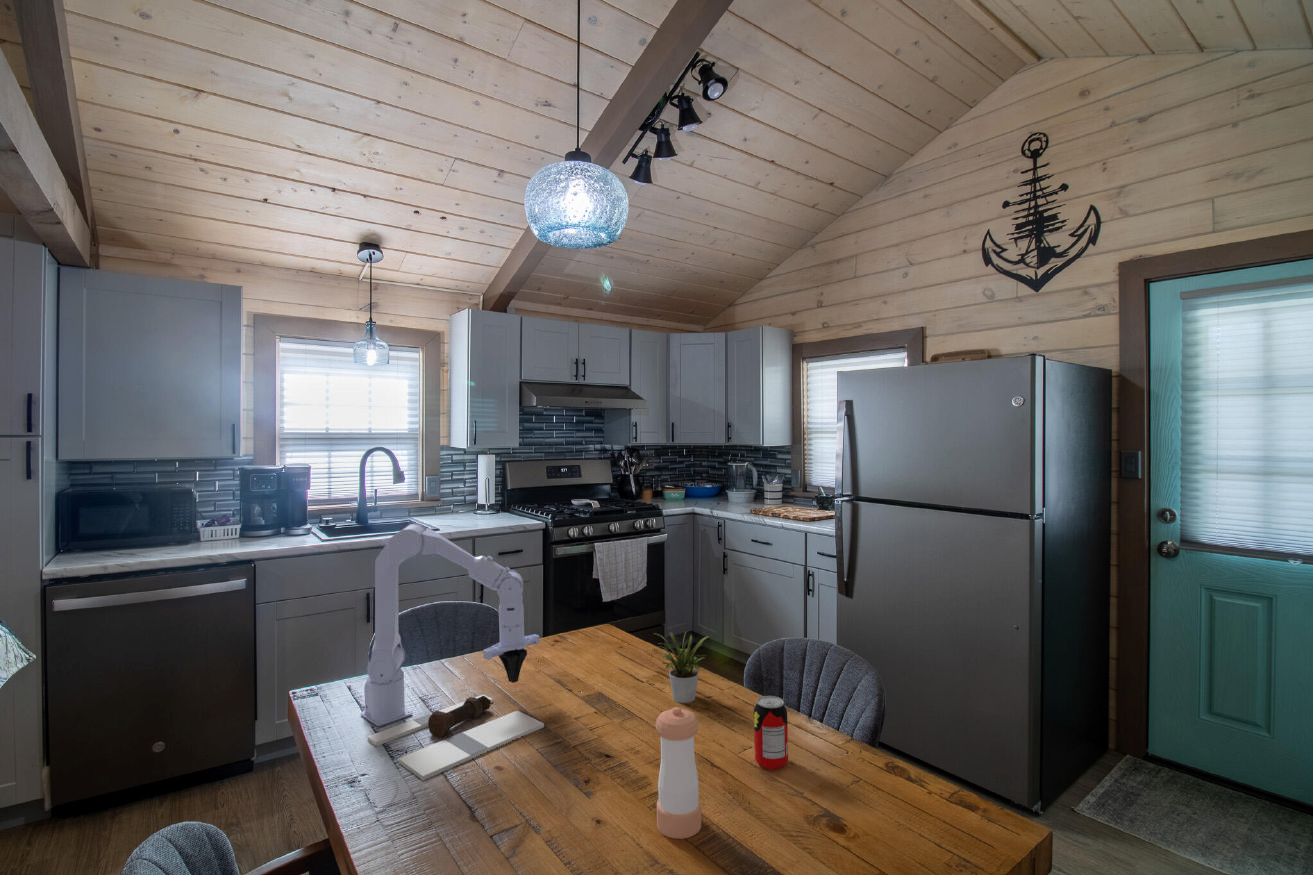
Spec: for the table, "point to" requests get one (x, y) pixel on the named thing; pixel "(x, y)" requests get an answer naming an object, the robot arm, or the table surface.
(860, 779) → the table surface
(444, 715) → the bolt
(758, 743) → the beverage can
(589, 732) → the table surface
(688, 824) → the pepper shaker
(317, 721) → the table surface
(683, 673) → the house plant
